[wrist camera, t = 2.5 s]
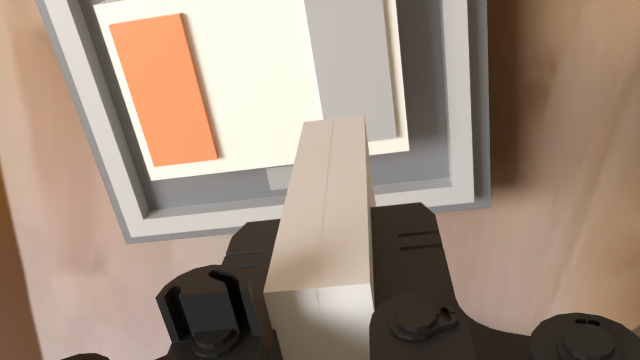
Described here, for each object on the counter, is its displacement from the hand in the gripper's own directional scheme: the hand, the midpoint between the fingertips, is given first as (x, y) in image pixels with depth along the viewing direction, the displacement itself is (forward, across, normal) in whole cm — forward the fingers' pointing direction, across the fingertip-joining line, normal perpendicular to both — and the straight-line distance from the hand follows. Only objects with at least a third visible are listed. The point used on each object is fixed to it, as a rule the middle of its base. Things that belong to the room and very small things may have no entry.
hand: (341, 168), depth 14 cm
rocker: (+11, +4, 0) cm, 12 cm away
